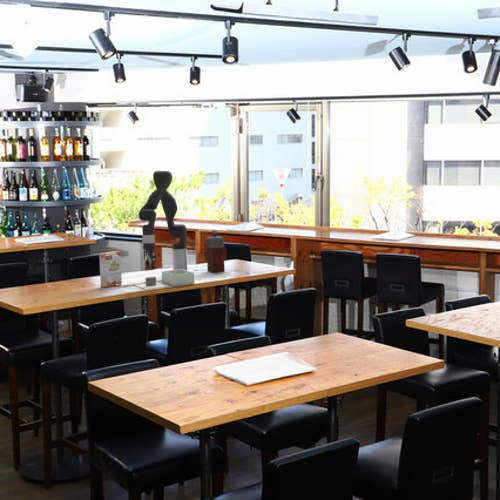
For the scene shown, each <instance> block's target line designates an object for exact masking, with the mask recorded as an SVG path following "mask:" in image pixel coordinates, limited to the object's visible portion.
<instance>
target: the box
mask: <svg viewBox="0 0 500 500" xmlns="http://www.w3.org/2000/svg"><path fill="white" fill-rule="evenodd" d="M161 283H162V284H164V285H167V286H172V287H178V286H186V285H187V286H189V285H194V284H195V272H194V271H189V270H188V269H187V270H183V269H178V270H173V269H171V270H170V269H169V270H163V271H161Z"/></svg>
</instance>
